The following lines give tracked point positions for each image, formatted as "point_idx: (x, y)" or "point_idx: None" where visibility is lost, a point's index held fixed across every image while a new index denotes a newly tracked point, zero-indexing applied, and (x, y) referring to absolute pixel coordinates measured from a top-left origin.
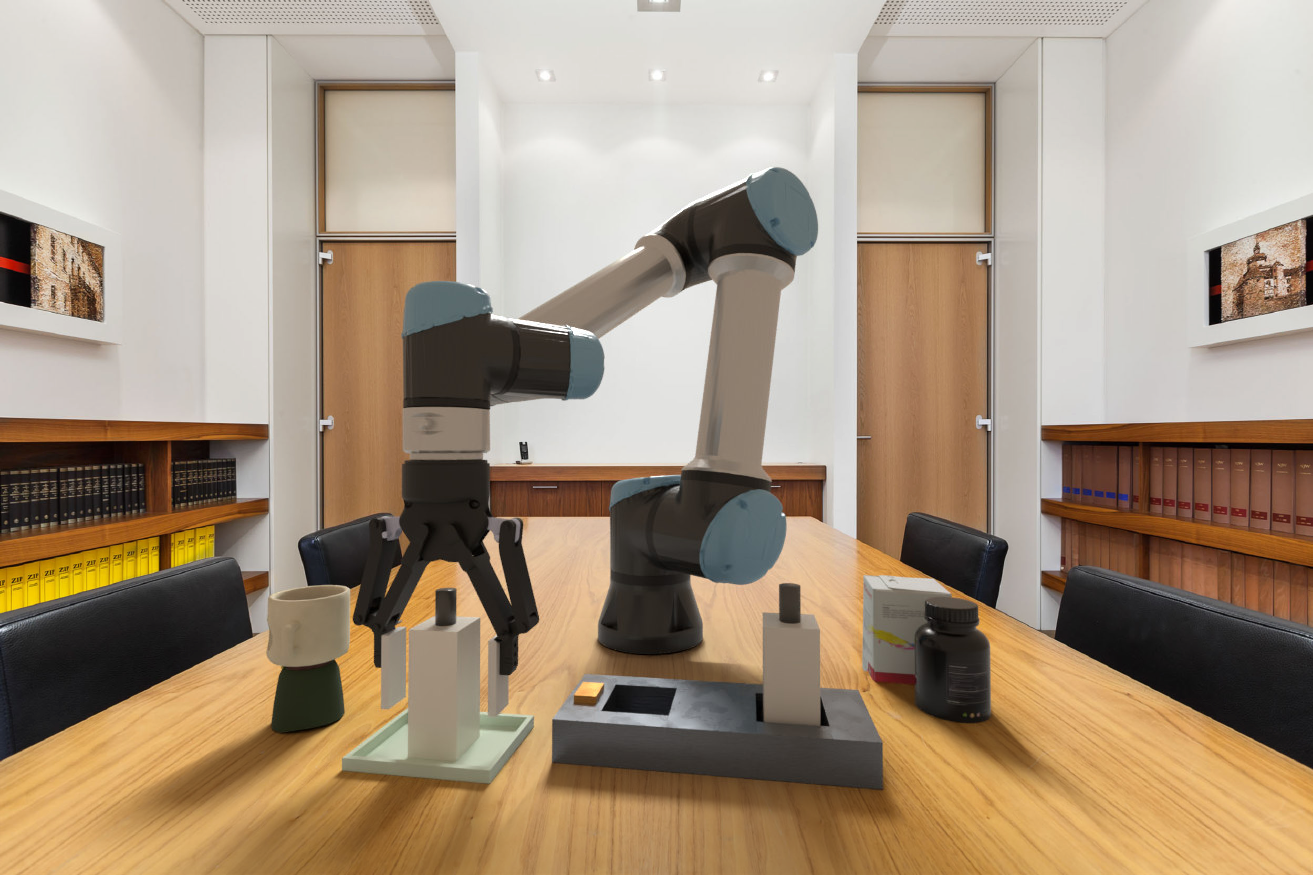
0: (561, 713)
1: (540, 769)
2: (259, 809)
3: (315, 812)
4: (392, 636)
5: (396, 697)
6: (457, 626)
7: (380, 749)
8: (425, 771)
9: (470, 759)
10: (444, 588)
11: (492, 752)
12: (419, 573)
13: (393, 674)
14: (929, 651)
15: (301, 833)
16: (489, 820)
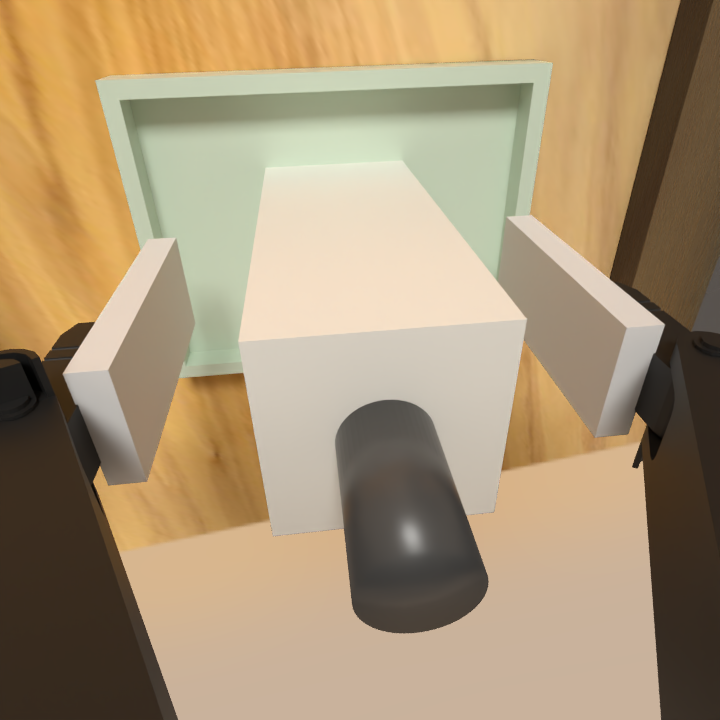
0: (710, 313)
1: (580, 245)
2: None
3: (233, 441)
4: (141, 454)
5: (185, 297)
6: (463, 460)
7: (188, 276)
8: None
9: None
10: (390, 576)
11: (467, 233)
12: (168, 717)
13: (172, 353)
14: None
15: (257, 476)
16: (521, 397)
